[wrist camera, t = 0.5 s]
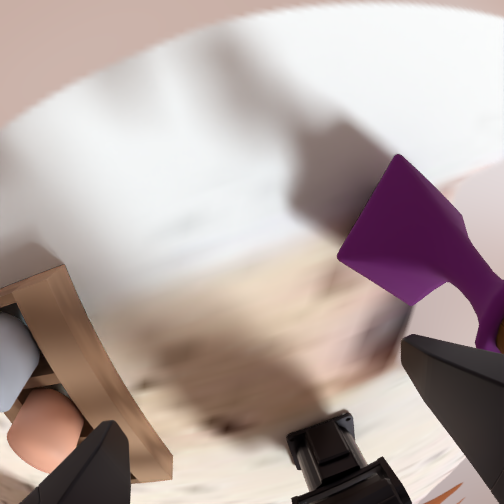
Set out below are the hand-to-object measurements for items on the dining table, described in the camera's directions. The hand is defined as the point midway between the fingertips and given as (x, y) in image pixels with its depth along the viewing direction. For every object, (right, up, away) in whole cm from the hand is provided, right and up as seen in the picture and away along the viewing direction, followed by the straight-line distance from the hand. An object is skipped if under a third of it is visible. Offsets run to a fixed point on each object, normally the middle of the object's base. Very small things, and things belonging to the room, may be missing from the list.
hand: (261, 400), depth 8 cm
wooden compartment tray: (-16, -8, +13) cm, 22 cm away
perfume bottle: (+9, +6, +13) cm, 17 cm away
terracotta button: (-16, -8, +11) cm, 21 cm away
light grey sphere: (-17, -2, +9) cm, 20 cm away
